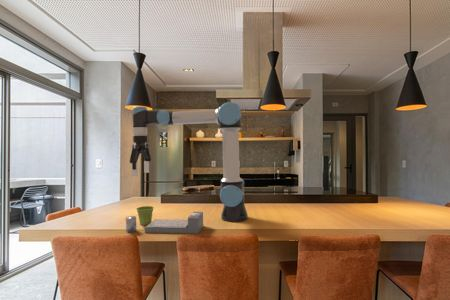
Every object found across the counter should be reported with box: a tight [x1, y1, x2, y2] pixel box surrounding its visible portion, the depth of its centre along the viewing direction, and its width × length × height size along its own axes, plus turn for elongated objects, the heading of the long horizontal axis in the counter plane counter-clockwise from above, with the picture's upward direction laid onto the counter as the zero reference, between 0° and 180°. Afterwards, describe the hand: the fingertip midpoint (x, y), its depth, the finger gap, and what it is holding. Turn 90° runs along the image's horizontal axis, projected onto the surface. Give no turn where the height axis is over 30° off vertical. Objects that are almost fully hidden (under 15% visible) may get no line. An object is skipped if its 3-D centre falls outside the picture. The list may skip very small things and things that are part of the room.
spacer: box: [125, 215, 137, 234], centre depth 158 cm, size 5×5×7 cm
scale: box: [144, 211, 204, 235], centre depth 160 cm, size 27×13×8 cm, turn 83°
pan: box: [146, 218, 188, 228], centre depth 160 cm, size 20×12×1 cm, turn 83°
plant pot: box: [135, 205, 155, 226], centre depth 172 cm, size 9×9×9 cm
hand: (141, 174), depth 171 cm, fingers open, 13 cm apart
